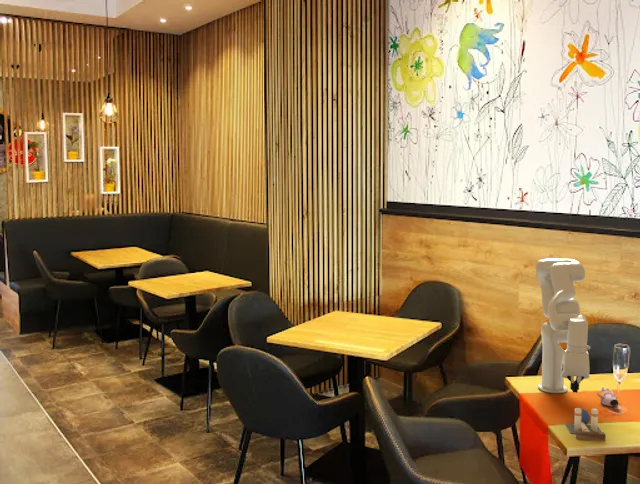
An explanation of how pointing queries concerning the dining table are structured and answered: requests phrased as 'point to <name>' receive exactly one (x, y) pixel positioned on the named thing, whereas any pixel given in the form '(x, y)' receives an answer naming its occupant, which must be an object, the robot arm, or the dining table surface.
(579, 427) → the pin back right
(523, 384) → the dining table surface
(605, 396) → the toy
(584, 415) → the ball
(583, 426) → the pin front
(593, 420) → the pin back left
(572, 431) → the pin deck mark
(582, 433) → the backstop
